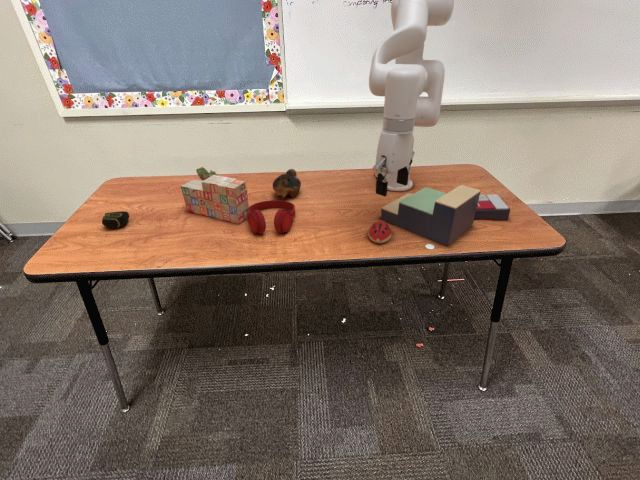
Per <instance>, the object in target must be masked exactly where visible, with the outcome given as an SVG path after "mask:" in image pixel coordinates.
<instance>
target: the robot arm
mask: <svg viewBox="0 0 640 480" xmlns="http://www.w3.org/2000/svg"><path fill="white" fill-rule="evenodd" d="M454 7H455V0H392V1H391V3H390V18H391V24H392V28H393V31H392V32H391V33H390V34H389V35H387V36H386V37H385V38H384V39H383V40H382V41H381V42H380V43H379V44H378V46H376V49H375V50H374V52H373V55H372V58H371V63H370V70H369V76H368V87H369V91H370V93H371V94H372V95H374V96H375V97H384V102H383V116H382V131H380V134H379V138H378V142H377V149H376V154H375V155H376V156H375V164H374V165H373V166H372V172H373V177H374V180H375V181H376V182H375V194H376V195H379V196H382V197H387V195H388V191H391V192H404V191H409V190H411V189H412V188H413V185H414V183H413V182H414V181H412V180H411V179H410V175H411V167H412V163H413V159H414V156H415V153H416V152H415V151H414V144H415V137H414V129H415V127H420V128H431V127H435V126H436V125H437V124H438V122H439V119H440V114H441V108H442V99H443V94H444V93H443V92H444V86H445V85H444V84H445V75H446V74H445V73H446V70H445V69H446V68H445V65H444V63H443V62H442V61H441V60H438V59H424V49H425V42H426V39H427V33H428V27H440V26H441V27H442V26H445V25H446V24H447V23H448V22H449V21H450V20H451V18H452V14H453V11H454ZM393 60H395V62H394V63H389V62H391V61H393ZM423 93H426V94H427V96H421V95H422V94H423Z"/></svg>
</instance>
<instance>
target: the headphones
mask: <svg viewBox="0 0 640 480" xmlns="http://www.w3.org/2000/svg"><path fill="white" fill-rule="evenodd" d="M266 209H278V210H277V211H276V213H275V214H274V218H273V226H274V230H275V231H276V232H277V233H280V234H281V233H282V234H283V233H288V232H289V231H290V230H291V227H292V224H293V222H294V218H296V205H295V204H294V203H293V202H290V201H287V200H282V199H278V200H277V199H274V200H272V199H271V200H264V201H259V202H256V203H253V204H251V205H250V206H249V208H248V211H247V218H246V219H245V220H246V221H248V224H249V227H250V230H251V232H252V233H253V234H257V235H260V234H261V235H262V234H263V233H265V232H266V228H267V222H266V218H265V216H264V213H263V212H262V211H261V210H266Z"/></svg>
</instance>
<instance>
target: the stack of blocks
mask: <svg viewBox="0 0 640 480" xmlns="http://www.w3.org/2000/svg"><path fill="white" fill-rule="evenodd" d="M217 175H218V174H217ZM217 175H212V176H211V177H209V178H207V179H206V180H204V181H203V180H201V179H200V180H199V179H191V180H189V181H187V182H185V183H184V184H182V185H180V189H181V194H182V196H183V200H184V205H185V208H186V211H187V212H190V213H194V214H198V215H201V216H205V217H211V218H214V219H218V220H222V221H225V222H229V223H233V224H237V225H240V224H241V223H242V222H244V221H245V220H246V218H247V211H248V208H249V207H250V206H249V205H250V204H249V197H248V196H249V195H248V190H247V181H246V180H243V179H238V178H236V177H235V178H234V177H229V176H223V175H222V176H221V175H218V176H217Z"/></svg>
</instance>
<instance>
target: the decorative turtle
mask: <svg viewBox="0 0 640 480" xmlns="http://www.w3.org/2000/svg"><path fill="white" fill-rule="evenodd" d="M301 186H302V182H301V180H300V179H299V177H297V171H296V170H295V169H294V168H290V169H288V170H287V171H286V172H285V173H283V174H280V175H278V176H277V177H276V178H275V179H274V180H273V182H272V189H273V190H274V191H275V196H276V198H277V199H278V200H284V199H285V198H286V197H287V196H289V197H290V198H292V199H294V198H295V197H296V196H297V194H298V193H299V192H300V189H301Z"/></svg>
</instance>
